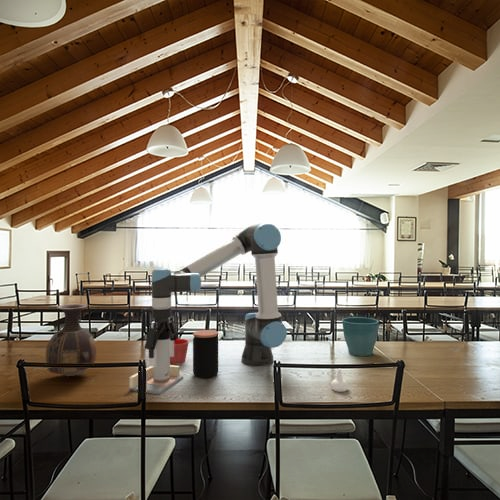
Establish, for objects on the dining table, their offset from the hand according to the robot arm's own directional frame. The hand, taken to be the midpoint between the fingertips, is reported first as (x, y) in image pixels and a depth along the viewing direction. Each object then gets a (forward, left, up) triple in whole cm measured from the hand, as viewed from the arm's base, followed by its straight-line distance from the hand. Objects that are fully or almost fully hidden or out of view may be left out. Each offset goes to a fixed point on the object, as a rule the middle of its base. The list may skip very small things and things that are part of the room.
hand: (162, 361), depth 152 cm
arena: (+1, +2, -9) cm, 9 cm away
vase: (+40, +6, -9) cm, 41 cm away
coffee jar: (-12, -14, -9) cm, 21 cm away
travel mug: (0, 0, -8) cm, 8 cm away
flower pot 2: (-73, -69, -9) cm, 101 cm away
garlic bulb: (-68, -15, -9) cm, 70 cm away
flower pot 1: (+9, -27, -9) cm, 30 cm away
